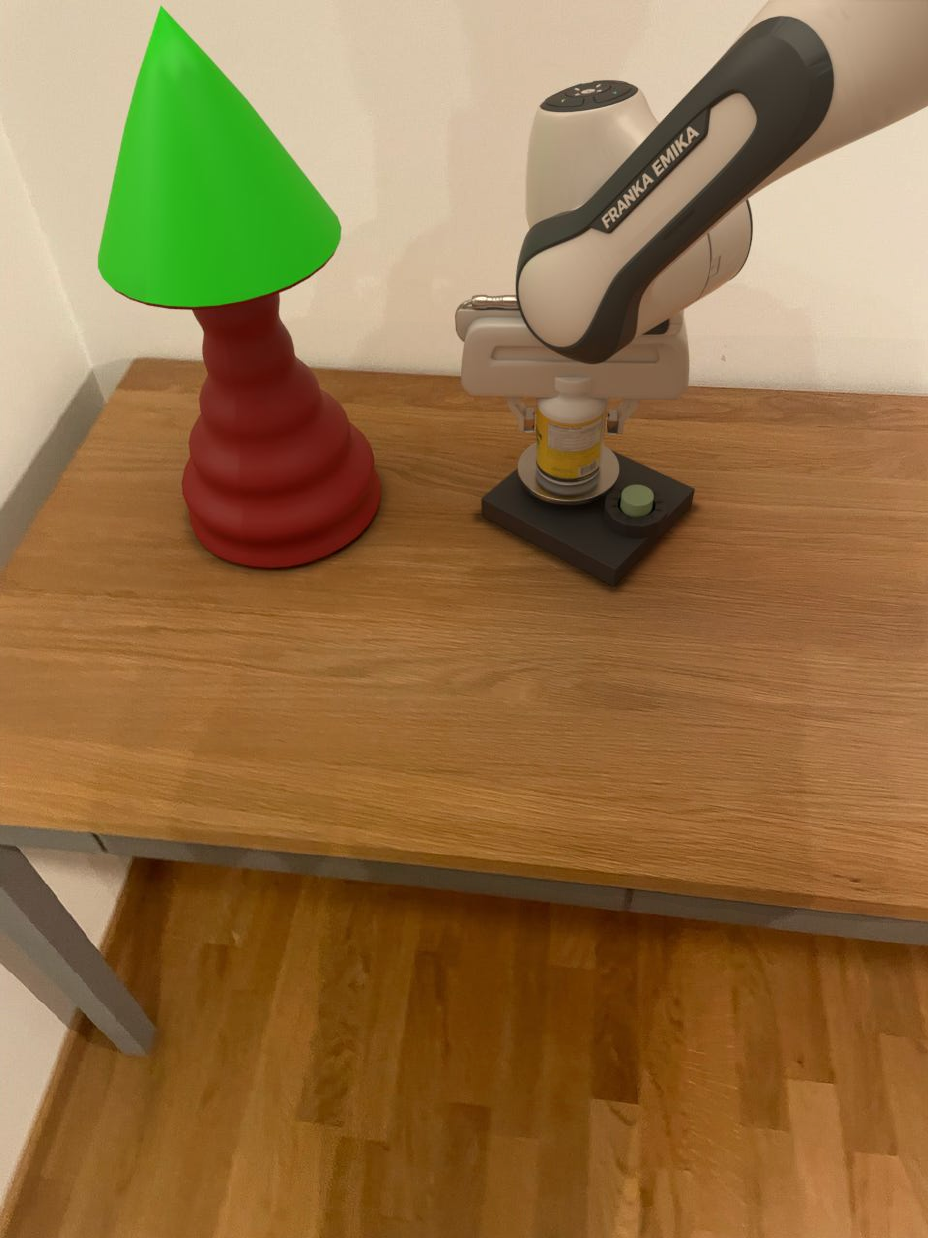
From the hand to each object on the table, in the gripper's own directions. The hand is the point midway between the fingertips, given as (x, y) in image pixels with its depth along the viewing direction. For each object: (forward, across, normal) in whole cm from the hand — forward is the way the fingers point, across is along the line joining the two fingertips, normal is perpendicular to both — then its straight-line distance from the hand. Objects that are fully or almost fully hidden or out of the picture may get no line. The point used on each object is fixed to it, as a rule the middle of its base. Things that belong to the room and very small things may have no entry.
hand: (570, 429), depth 88 cm
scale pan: (+5, 0, 0) cm, 5 cm away
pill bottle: (+5, 0, 0) cm, 5 cm away
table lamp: (+9, -29, -1) cm, 30 cm away
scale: (+9, +2, -1) cm, 9 cm away
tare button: (+6, +7, -5) cm, 10 cm away
